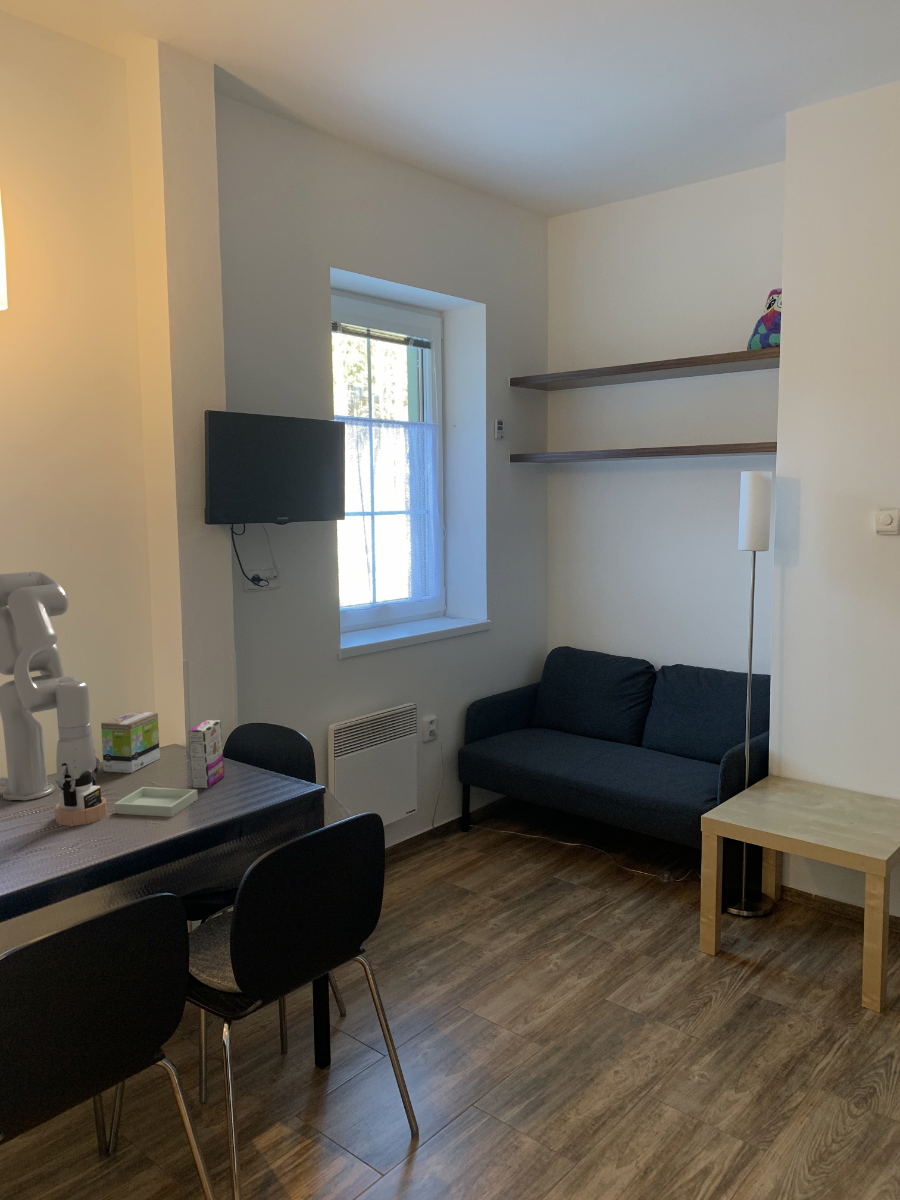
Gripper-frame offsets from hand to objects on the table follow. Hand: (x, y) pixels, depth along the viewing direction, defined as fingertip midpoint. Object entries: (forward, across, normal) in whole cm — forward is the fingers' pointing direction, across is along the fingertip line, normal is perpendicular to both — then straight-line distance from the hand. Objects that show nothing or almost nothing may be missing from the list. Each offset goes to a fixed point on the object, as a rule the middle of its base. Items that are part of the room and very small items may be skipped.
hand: (80, 800), depth 226 cm
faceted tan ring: (+4, 0, 0) cm, 4 cm away
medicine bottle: (+5, 0, 0) cm, 5 cm away
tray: (+4, -10, +15) cm, 18 cm away
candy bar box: (+5, -30, +19) cm, 36 cm away
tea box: (+5, -42, -12) cm, 44 cm away
